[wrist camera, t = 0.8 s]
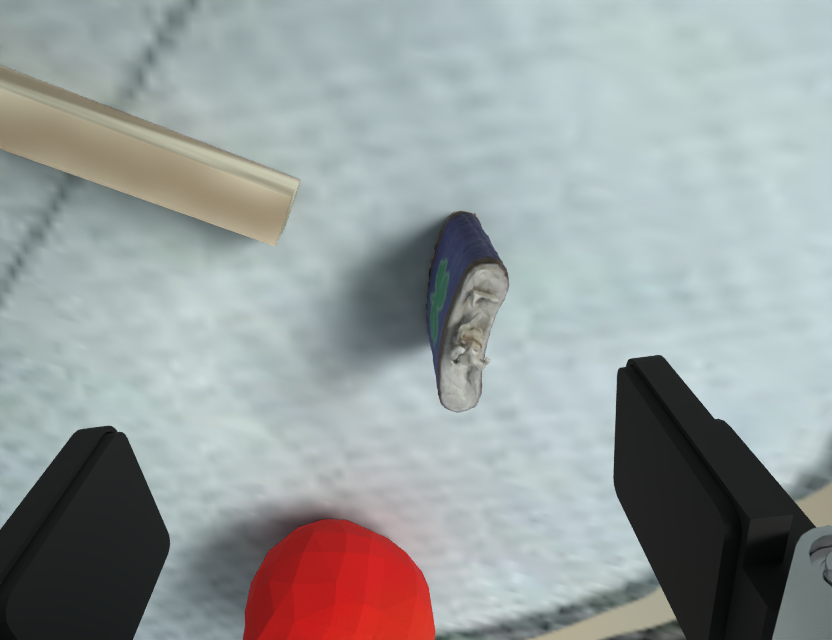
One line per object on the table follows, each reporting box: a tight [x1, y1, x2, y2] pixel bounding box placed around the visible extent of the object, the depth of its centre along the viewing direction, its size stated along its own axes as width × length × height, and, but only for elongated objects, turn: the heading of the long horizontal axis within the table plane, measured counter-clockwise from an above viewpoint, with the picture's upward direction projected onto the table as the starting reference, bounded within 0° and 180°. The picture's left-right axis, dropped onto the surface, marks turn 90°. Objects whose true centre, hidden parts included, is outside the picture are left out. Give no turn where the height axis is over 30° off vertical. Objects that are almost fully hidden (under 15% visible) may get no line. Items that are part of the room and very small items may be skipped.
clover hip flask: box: [426, 211, 509, 413], centre depth 34 cm, size 9×3×11 cm, turn 171°
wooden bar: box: [0, 65, 300, 246], centre depth 32 cm, size 3×22×4 cm, turn 68°
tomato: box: [243, 519, 435, 640], centre depth 43 cm, size 16×14×14 cm
